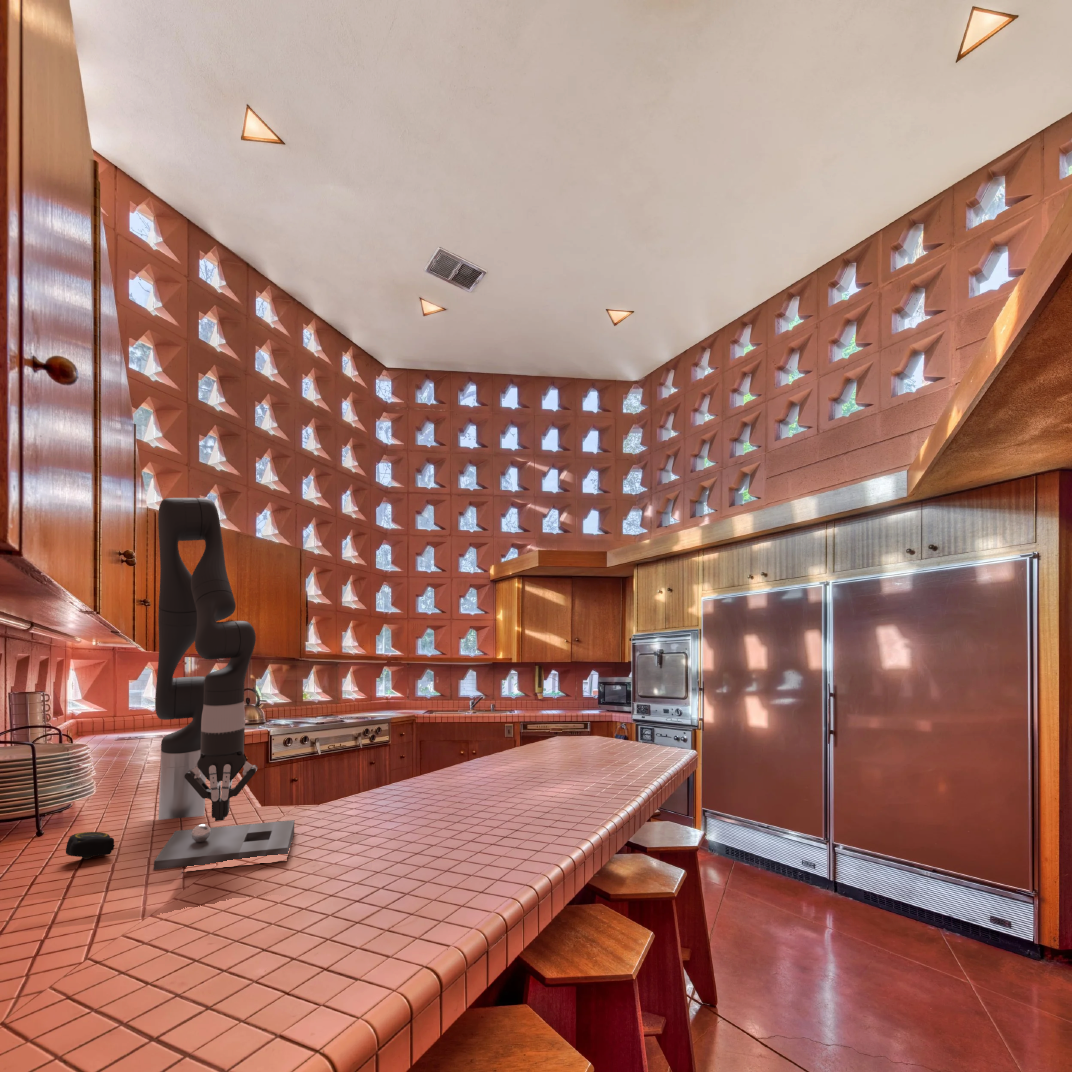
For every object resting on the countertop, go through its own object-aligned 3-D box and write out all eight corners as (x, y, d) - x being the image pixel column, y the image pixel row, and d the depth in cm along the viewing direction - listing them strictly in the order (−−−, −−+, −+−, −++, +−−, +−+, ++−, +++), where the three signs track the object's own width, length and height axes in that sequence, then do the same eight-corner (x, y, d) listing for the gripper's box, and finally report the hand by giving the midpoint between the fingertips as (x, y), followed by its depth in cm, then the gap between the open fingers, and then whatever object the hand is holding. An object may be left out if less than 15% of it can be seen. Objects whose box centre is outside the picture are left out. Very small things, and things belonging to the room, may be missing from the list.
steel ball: (190, 840, 123) (190, 823, 123) (208, 836, 125) (209, 819, 125) (192, 846, 120) (193, 828, 120) (211, 842, 122) (212, 825, 122)
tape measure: (68, 862, 116) (73, 839, 117) (60, 854, 121) (65, 832, 122) (111, 859, 121) (116, 837, 122) (102, 851, 126) (107, 830, 127)
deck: (153, 875, 114) (154, 861, 114) (174, 843, 128) (175, 830, 128) (287, 861, 120) (287, 847, 120) (294, 832, 133) (294, 819, 134)
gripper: (179, 733, 119) (176, 830, 118) (257, 728, 123) (254, 823, 121) (190, 724, 126) (187, 815, 125) (263, 720, 130) (260, 809, 129)
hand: (220, 819), depth 123 cm, fingers closed
